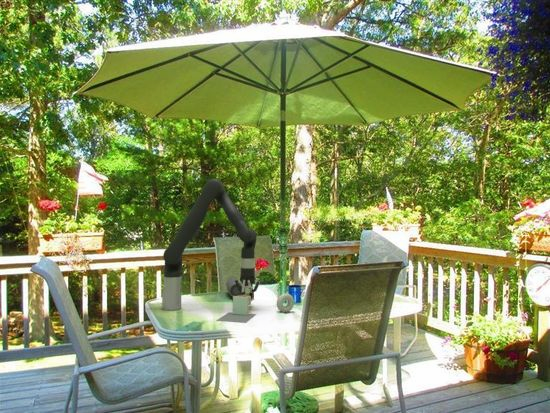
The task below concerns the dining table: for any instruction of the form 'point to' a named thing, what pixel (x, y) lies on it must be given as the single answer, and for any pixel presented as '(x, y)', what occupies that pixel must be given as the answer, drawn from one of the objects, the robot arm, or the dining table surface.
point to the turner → (249, 297)
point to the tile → (240, 305)
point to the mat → (236, 318)
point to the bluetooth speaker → (233, 287)
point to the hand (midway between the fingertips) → (247, 299)
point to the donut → (281, 300)
